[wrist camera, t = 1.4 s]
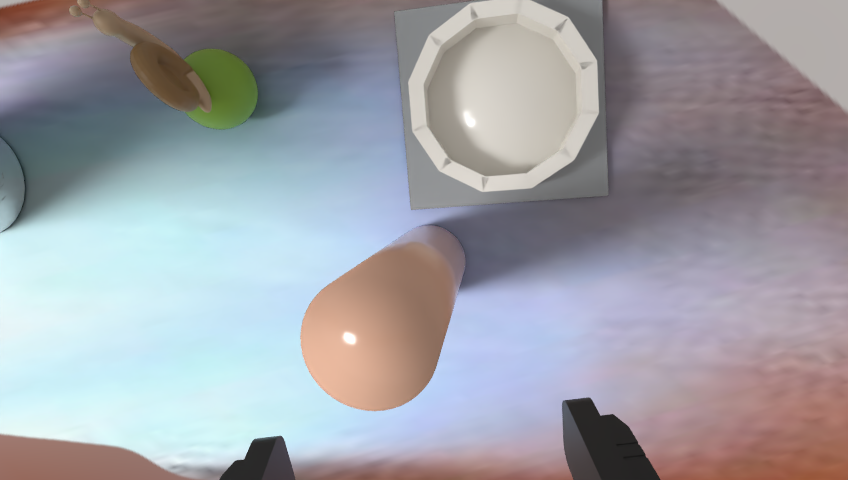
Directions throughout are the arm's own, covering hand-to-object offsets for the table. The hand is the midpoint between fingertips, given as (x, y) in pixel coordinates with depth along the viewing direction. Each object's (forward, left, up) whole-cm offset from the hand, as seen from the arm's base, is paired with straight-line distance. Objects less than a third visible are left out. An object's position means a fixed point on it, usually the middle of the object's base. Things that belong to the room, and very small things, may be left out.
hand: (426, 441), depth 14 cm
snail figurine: (-17, +15, -23) cm, 32 cm away
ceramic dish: (+3, +12, -22) cm, 26 cm away
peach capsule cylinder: (-3, +1, -23) cm, 23 cm away
